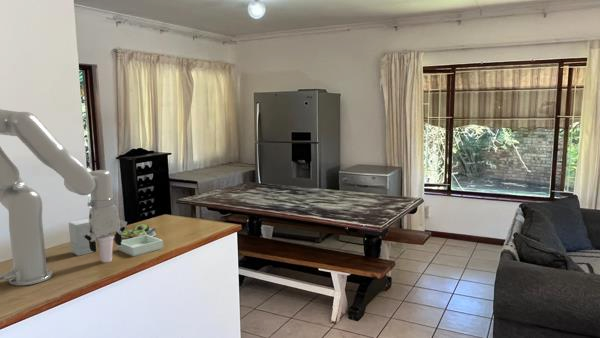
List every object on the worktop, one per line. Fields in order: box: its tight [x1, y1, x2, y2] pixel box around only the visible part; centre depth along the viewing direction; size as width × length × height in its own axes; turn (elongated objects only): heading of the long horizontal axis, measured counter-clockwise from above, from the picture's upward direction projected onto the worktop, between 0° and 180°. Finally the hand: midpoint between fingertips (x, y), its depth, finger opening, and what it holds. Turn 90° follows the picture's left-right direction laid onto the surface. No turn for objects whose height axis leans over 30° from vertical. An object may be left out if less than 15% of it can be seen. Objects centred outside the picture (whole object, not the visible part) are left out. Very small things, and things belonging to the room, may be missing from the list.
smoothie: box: [95, 233, 115, 263], centre depth 167 cm, size 6×6×14 cm
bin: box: [116, 235, 164, 257], centre depth 181 cm, size 13×13×4 cm
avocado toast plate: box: [121, 223, 157, 240], centre depth 198 cm, size 19×18×5 cm
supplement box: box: [68, 218, 96, 257], centre depth 178 cm, size 7×7×13 cm
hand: (106, 247), depth 167 cm, fingers open, 9 cm apart
